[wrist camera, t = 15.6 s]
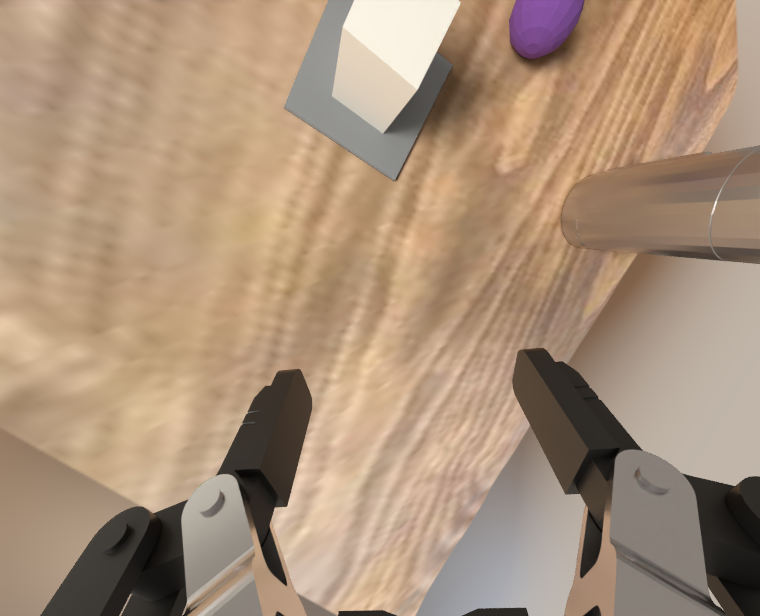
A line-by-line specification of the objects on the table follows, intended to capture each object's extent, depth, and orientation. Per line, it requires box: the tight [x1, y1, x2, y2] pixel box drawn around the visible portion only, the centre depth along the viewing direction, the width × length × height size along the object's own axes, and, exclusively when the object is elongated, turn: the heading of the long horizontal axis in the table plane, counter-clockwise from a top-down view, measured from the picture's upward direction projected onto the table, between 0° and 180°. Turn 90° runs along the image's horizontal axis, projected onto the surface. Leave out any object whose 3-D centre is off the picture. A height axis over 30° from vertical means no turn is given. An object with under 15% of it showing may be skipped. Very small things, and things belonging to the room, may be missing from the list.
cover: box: [332, 0, 460, 133], centre depth 21 cm, size 6×6×10 cm
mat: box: [284, 0, 452, 181], centre depth 26 cm, size 12×12×1 cm
